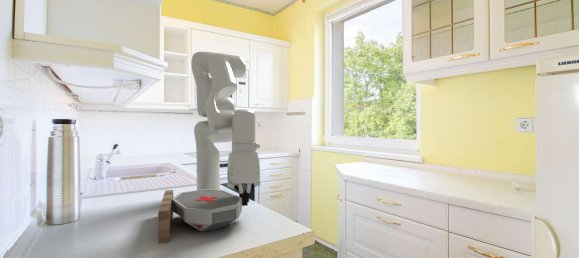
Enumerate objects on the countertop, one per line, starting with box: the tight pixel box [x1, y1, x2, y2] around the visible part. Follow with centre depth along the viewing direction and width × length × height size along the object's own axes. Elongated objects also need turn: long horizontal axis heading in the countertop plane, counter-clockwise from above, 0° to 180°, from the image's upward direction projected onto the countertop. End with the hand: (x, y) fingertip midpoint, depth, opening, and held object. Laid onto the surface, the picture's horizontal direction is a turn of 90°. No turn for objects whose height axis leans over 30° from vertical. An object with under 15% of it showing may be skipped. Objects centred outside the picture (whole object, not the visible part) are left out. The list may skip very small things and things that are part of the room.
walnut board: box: [157, 189, 175, 244], centre depth 87 cm, size 25×2×8 cm, turn 19°
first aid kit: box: [172, 189, 243, 232], centre depth 90 cm, size 18×8×25 cm
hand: (244, 204), depth 94 cm, fingers closed
